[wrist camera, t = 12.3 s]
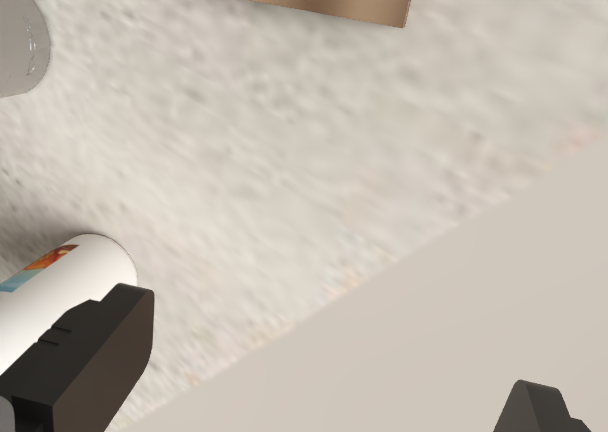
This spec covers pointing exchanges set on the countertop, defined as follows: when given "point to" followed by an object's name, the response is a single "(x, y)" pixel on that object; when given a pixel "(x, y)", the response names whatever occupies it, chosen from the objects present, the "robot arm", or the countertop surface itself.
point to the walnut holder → (354, 9)
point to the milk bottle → (58, 289)
